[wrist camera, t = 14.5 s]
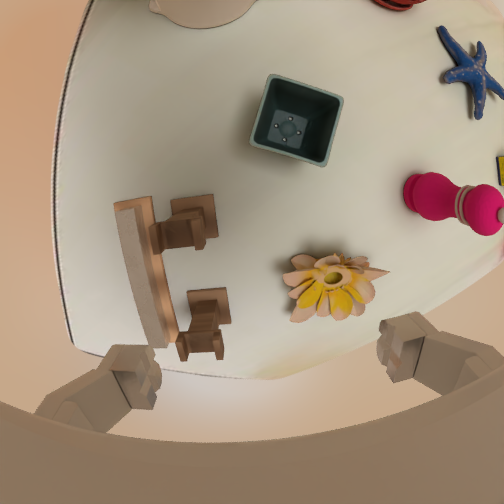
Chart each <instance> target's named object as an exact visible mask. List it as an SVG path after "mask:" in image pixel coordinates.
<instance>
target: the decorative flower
mask: <svg viewBox="0 0 504 504" xmlns="http://www.w3.org/2000/svg"><path fill="white" fill-rule="evenodd" d="M350 259H351V257H350V258H347V259H346V260H345V261H344V256H343V253H341V255H340V256H339V257H338V256H337V255H336V253H334V254H333V256H327V257H324V258H321V259H314V258H313V257H311V256H309V255H302V254H301V255H297V256H295V257H294V258H293V259H292V260H291V262H292V264H293V265H294V266H295V268H296V269H297V270H296V271H293V272H289V273H286V274H283V279H284V282H285V283H286V284H287V285H289V286H293V287H296V288H294V289H293V290H292V291H290V292H289V293H288V295H289V296H290V297H291V298H294V299H298V300H297V302H296V303H297V305H296V307H295V309H294V311H293V313H292V315H291V318H290V321H291V322H296V323H300V322H303V321H306V320H307V319H309V318H310V317H312V316H313V315H314V314H315V312H316V311H317V316H320V317H325V316H328V315H329V314H332V317H333V318H334V319H335V320H336V321H337V320H343V319H345V318H347V317H348V316H349V315H350V314H351V315H354V316H360V315H361V314H363V313H364V311H365V304H367V303H369V302H370V301H372V300H373V298H374V296H375V290H374V286H373V285H372V283H371V282H370V281H372V280H374V279H376V278H379V277H381V276H383V275H385V274H387V273H389V272H390V271H385V270H381V269H377V268H371V267H369V262H366V261H367V259H368V258H367V257H364V256H360V257H356V258H354V259H352V260H350Z"/></svg>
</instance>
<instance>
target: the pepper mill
mask: <svg viewBox="0 0 504 504" xmlns="http://www.w3.org/2000/svg"><path fill="white" fill-rule="evenodd" d="M403 194H404V200H405V203H406V205H407V206H408V207H409V209H411V210H412V211H414V212H417V213H419V214H420V215H421V216H422V217H423V218H425V219H428V220H432V221H440V220H444V219H446V218H449V217H454V218H458V220H459V221H460V222H461V223H462V224H465V225H467V226H470V227H471V228H472V230H474V231H475V232H476V233H478V234H480V235H484V236H489V235H493V234H495V233H497V232H498V231H499V230H500V228H501V227H502V225H503V224H504V199H503V196H502V195H501V193H500V192H499V191H498V190H497V189H496V188H494V187H493V186H490V185H487V184H481V185H478V186H476V187H475V186H470V185H466V186H463V187H462V188H461V187H458V186H456V185H454V184H453V183H452V182H451V181H450V180H449V179H448V178H447V177H445V176H443V175H441V174H439V173H434V172H429V173H426V174H415V175H412V176H411V177H410V178H409V179H408V180H407V181H406V184H405V186H404V193H403Z"/></svg>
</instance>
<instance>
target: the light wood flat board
mask: <svg viewBox="0 0 504 504" xmlns="http://www.w3.org/2000/svg"><path fill="white" fill-rule="evenodd" d="M141 205H142V212H143V218H144V223H145V229H146V234H147V240H148V245H149V250H150V255H151V260H152V264H153V269H154V273H155V278H156V282H157V286H158V290H159V295H160V299H161V303H162V306H163V310H164V314H165V318H166V321H167V325H168V329H169V332H170V336H171V339H170V342H175V341H176V338H177V336H178V333H179V328H178V325H177V321H176V317H175V313H174V309H173V305H172V301H171V296H170V292H169V288H168V283H167V279H166V274H165V269H164V265H163V260H162V255H161V254H158V255H153V251H152V246H151V240H150V235H149V230H148V227H149V226H151V225H152V224H154V223H156V222H155V216H154V210H153V204H152V197H151V196H149V197H144V198H138V199H133V200H127V201H122V202H117V203H114V209H115V212H116V211H118V210H121V209H124V208H129V207H135V206H141ZM170 342H169V343H170Z"/></svg>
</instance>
